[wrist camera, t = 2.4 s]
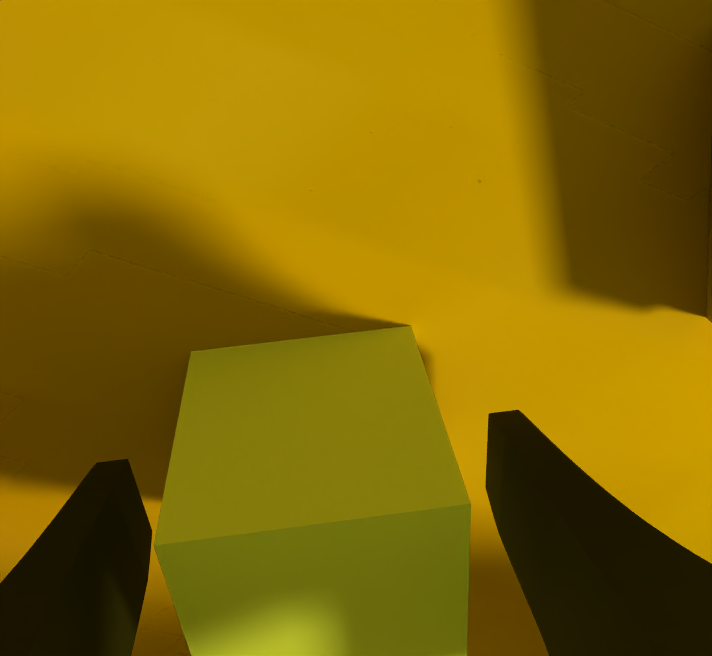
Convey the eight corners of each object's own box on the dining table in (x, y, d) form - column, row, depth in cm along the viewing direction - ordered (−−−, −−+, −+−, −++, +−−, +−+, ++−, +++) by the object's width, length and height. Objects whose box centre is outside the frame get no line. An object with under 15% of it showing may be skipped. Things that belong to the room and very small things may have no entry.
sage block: (415, 482, 16) (465, 682, 12) (229, 506, 16) (213, 719, 12) (410, 324, 14) (471, 503, 10) (190, 349, 14) (153, 545, 9)
